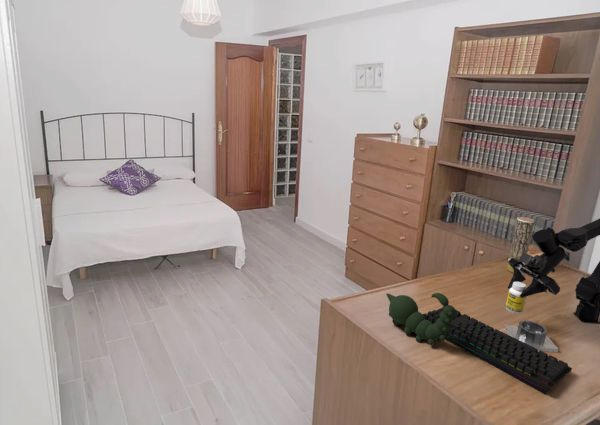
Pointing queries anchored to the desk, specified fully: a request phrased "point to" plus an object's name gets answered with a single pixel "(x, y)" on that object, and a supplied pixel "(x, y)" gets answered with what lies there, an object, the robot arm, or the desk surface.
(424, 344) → the desk surface
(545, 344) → the cup bracket
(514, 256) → the bark textured cylinder
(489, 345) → the keyboard
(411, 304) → the toy figurine
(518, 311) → the supplement bottle
